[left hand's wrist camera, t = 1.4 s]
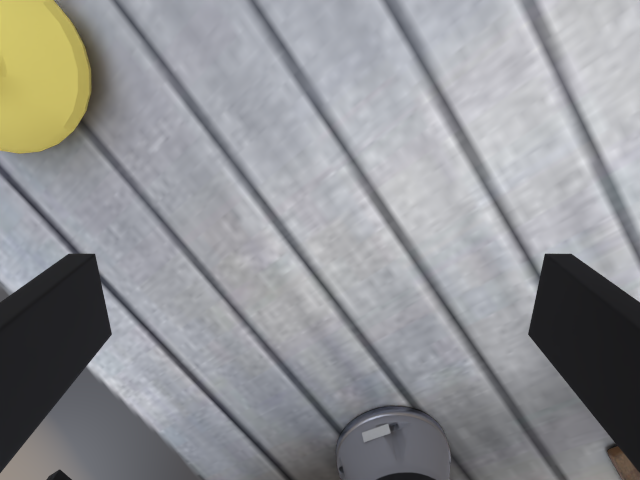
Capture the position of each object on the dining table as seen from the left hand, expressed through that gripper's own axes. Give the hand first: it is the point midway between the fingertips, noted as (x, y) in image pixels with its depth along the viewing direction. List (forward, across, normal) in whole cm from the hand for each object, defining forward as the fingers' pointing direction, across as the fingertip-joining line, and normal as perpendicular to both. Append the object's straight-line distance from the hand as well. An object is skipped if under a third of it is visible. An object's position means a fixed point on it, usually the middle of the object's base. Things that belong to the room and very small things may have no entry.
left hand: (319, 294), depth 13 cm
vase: (+34, -29, +7) cm, 45 cm away
